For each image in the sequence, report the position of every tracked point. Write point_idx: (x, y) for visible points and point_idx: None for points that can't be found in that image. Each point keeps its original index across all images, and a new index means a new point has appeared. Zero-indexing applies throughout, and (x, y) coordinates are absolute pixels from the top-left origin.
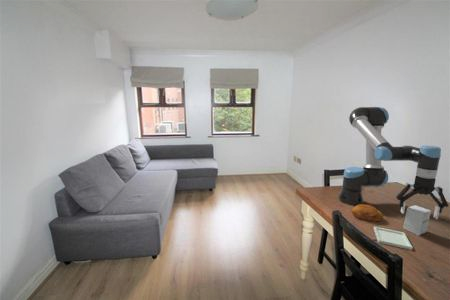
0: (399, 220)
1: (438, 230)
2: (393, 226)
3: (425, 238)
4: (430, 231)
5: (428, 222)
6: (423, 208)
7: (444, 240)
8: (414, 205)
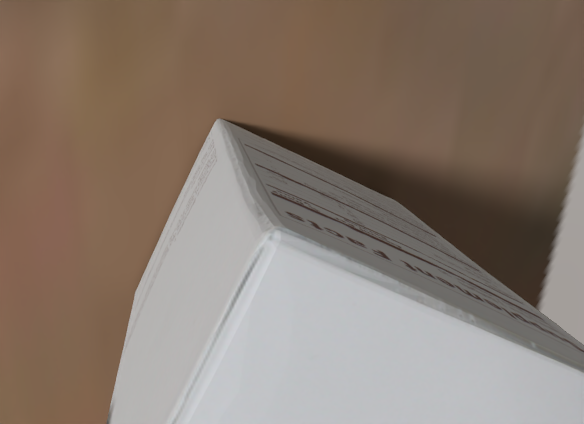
0: (57, 19)
1: (544, 20)
2: (16, 317)
3: None
4: (444, 132)
5: (465, 257)
6: (497, 396)
7: (539, 278)
8: (256, 302)
